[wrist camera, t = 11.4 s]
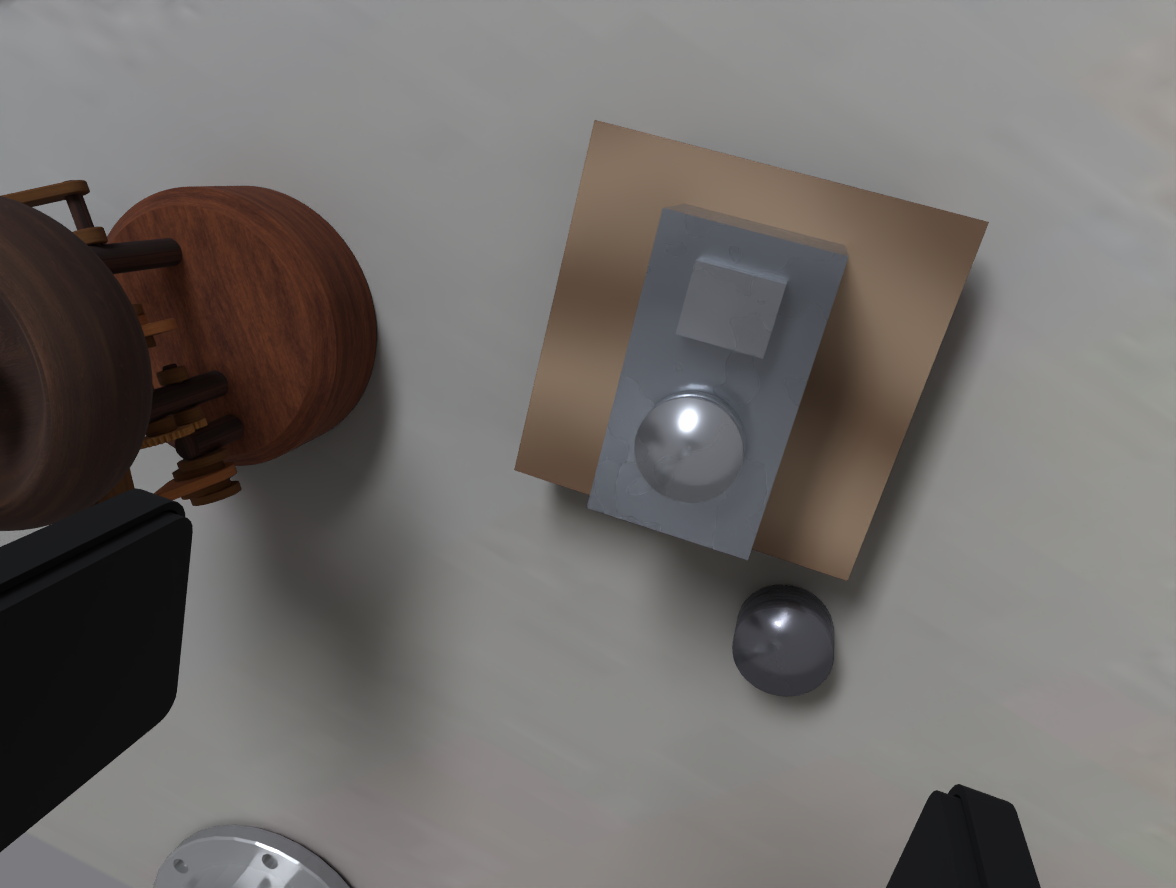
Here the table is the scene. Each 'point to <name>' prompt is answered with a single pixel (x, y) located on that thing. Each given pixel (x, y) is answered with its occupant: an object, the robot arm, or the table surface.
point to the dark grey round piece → (784, 640)
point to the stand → (845, 354)
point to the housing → (714, 375)
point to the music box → (169, 342)
